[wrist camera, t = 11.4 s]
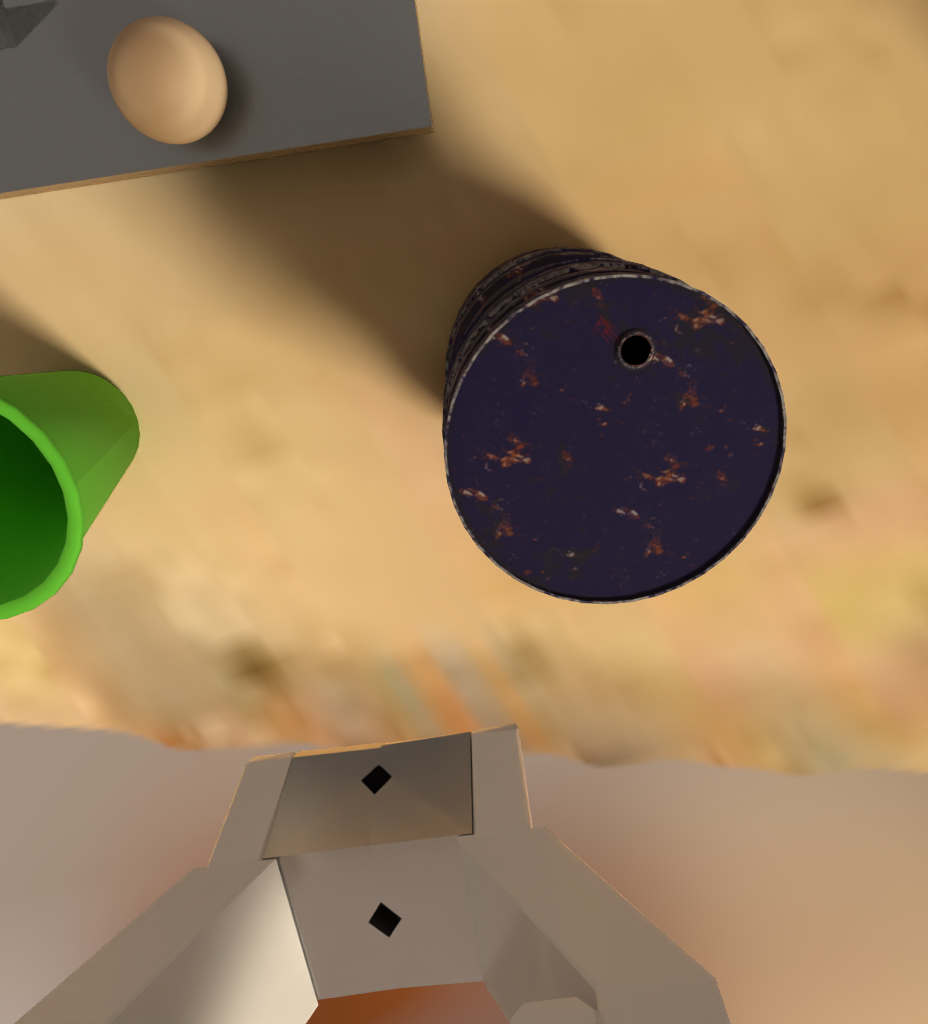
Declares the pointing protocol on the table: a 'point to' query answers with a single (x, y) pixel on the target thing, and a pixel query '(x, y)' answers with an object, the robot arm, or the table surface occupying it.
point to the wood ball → (167, 80)
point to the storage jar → (606, 426)
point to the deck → (250, 81)
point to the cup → (55, 475)
